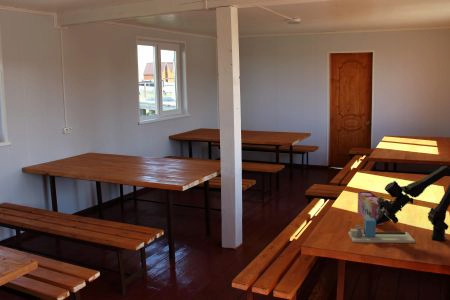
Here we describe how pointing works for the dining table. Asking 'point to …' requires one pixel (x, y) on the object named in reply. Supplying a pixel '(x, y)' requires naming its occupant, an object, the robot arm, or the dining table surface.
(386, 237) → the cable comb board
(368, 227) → the blue block
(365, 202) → the gum box
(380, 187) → the dining table surface
